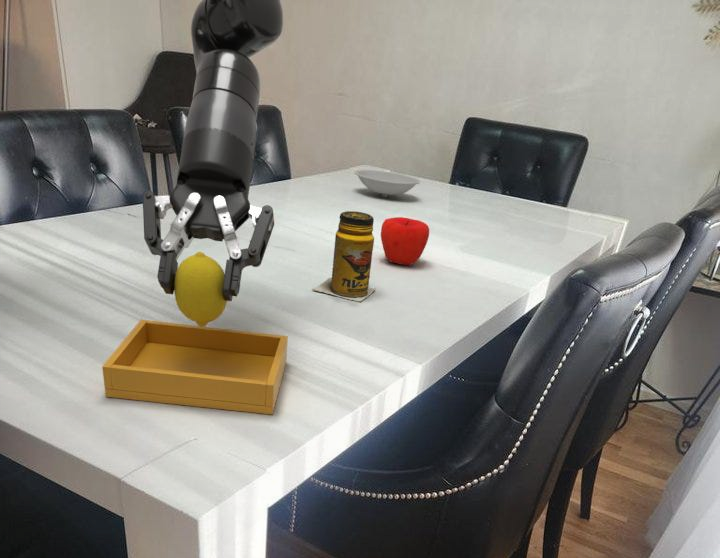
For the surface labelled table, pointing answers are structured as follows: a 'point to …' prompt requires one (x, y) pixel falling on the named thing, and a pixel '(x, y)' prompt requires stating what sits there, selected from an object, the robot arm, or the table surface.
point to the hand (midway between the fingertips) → (197, 293)
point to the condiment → (351, 258)
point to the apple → (404, 239)
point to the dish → (386, 182)
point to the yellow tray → (198, 367)
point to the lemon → (200, 288)
